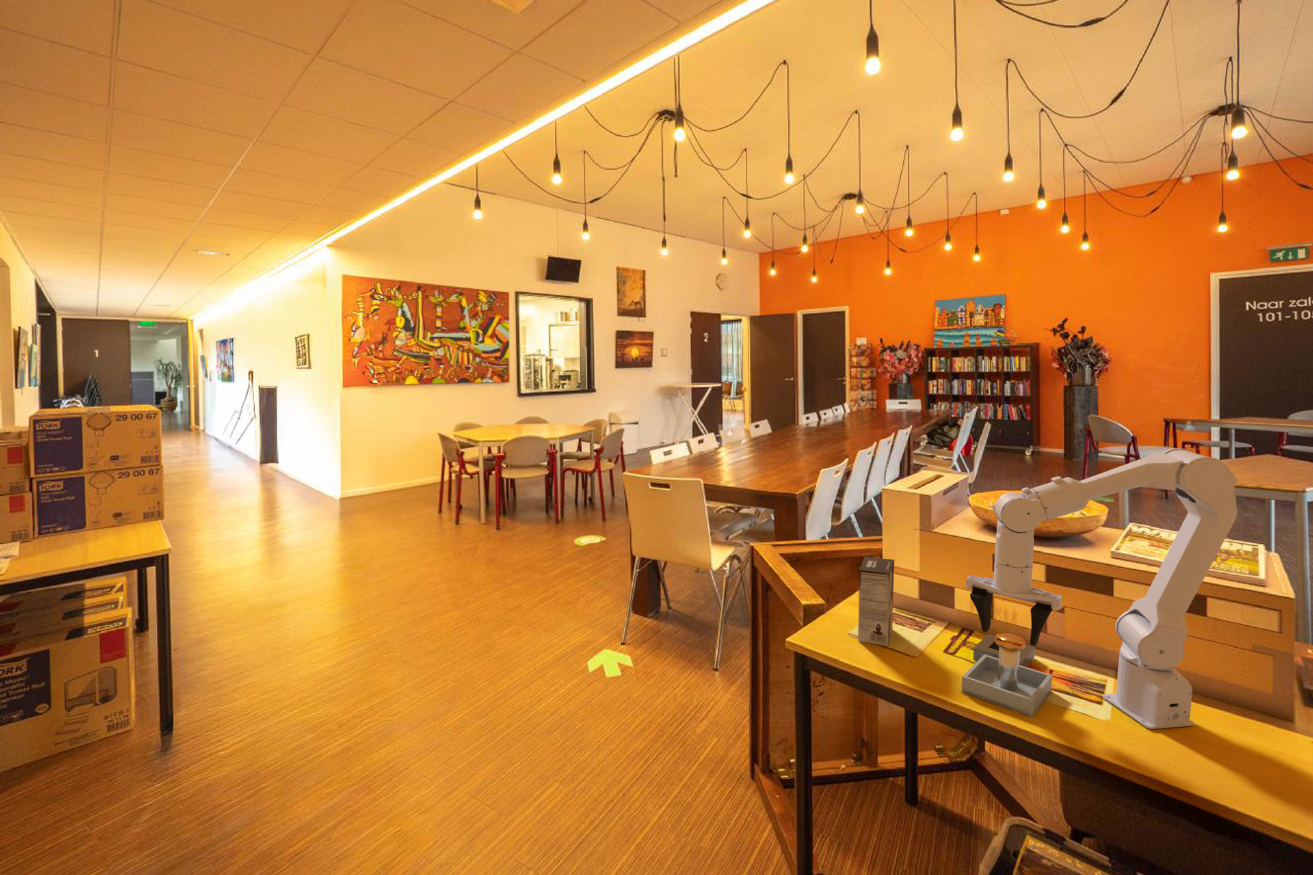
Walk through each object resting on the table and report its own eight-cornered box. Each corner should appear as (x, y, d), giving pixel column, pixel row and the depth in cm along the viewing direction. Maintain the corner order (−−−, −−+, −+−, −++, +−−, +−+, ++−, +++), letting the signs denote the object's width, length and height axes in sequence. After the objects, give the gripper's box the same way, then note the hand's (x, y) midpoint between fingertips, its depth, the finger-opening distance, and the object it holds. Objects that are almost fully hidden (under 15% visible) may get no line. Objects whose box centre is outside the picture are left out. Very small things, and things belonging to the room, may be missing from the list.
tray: (1051, 690, 109) (1052, 675, 109) (1032, 717, 101) (1033, 700, 101) (983, 668, 117) (984, 654, 117) (961, 692, 109) (962, 676, 109)
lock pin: (1028, 692, 108) (1031, 644, 107) (1004, 694, 107) (1007, 645, 106) (1010, 678, 112) (1013, 632, 111) (987, 680, 112) (989, 634, 111)
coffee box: (862, 624, 138) (864, 555, 135) (893, 628, 135) (894, 558, 133) (857, 641, 129) (858, 568, 127) (889, 647, 127) (891, 572, 124)
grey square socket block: (1034, 658, 120) (1034, 646, 120) (1020, 674, 115) (1021, 662, 114) (987, 644, 126) (988, 633, 126) (973, 659, 121) (973, 647, 120)
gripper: (1068, 566, 104) (1063, 641, 105) (977, 548, 114) (973, 617, 116) (1057, 577, 99) (1052, 656, 101) (962, 557, 109) (959, 629, 111)
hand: (1009, 636), depth 108 cm, fingers open, 7 cm apart
